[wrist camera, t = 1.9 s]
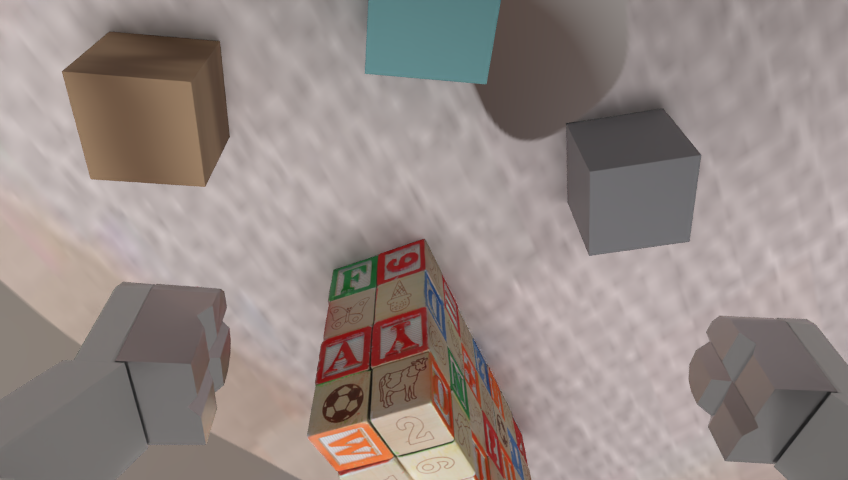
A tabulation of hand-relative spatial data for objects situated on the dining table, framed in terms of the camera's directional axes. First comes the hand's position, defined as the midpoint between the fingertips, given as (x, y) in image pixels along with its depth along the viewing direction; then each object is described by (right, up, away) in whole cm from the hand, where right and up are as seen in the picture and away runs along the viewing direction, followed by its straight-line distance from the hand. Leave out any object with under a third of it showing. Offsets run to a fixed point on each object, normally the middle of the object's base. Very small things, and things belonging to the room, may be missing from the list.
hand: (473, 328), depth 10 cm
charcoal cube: (+10, +6, +23) cm, 25 cm away
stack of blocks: (0, -7, +32) cm, 33 cm away
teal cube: (-1, +13, +17) cm, 22 cm away
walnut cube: (-13, +9, +20) cm, 25 cm away
